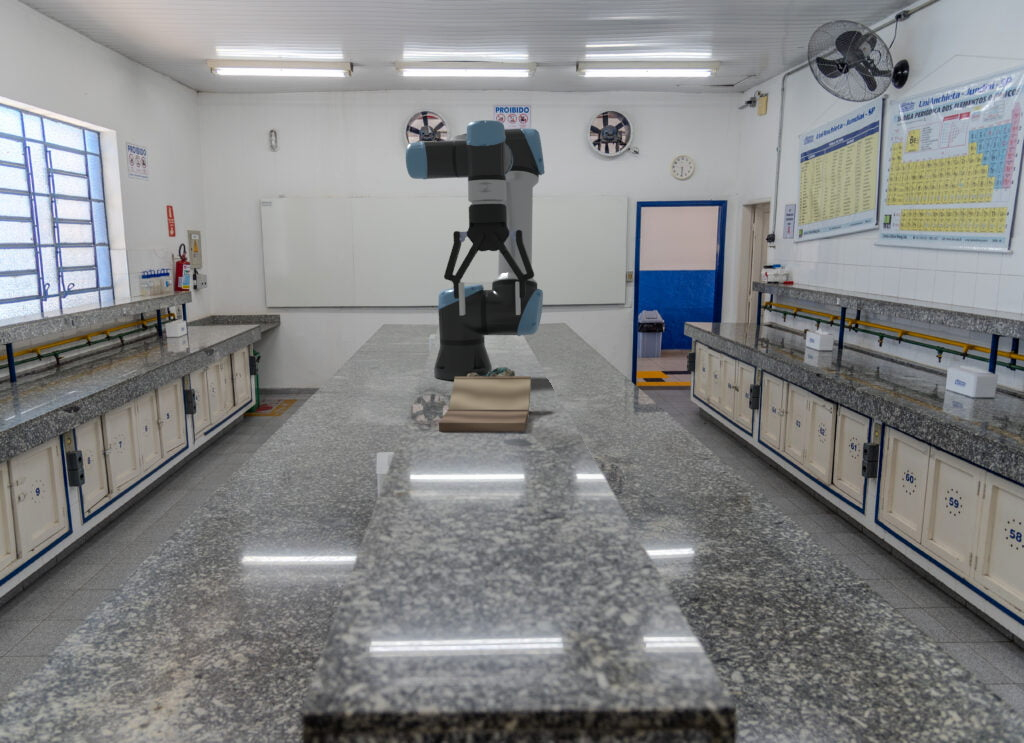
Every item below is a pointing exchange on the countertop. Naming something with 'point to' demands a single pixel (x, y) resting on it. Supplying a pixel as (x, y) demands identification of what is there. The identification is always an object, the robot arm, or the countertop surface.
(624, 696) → the countertop surface
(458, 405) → the board
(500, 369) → the mineral specimen
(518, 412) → the floor board
